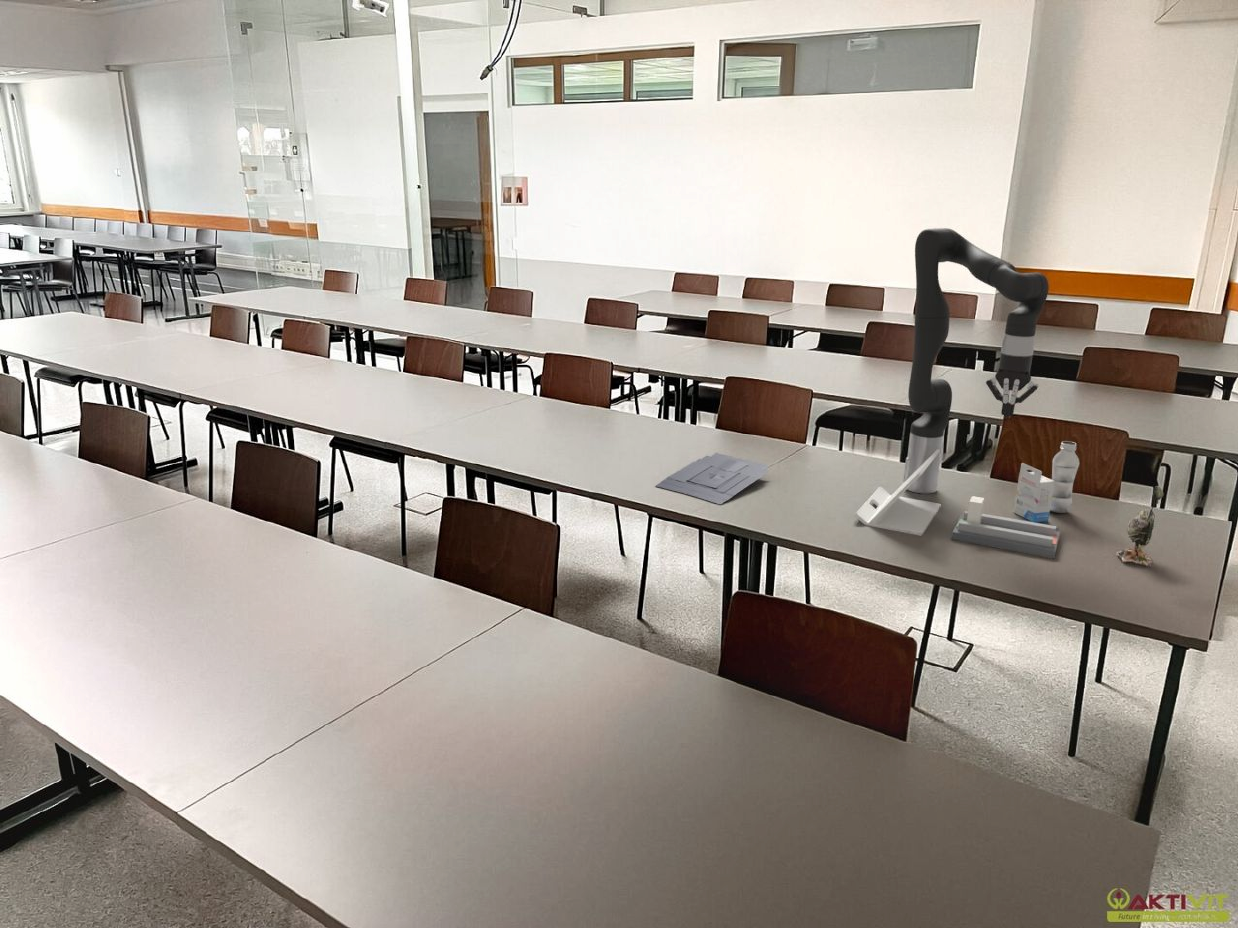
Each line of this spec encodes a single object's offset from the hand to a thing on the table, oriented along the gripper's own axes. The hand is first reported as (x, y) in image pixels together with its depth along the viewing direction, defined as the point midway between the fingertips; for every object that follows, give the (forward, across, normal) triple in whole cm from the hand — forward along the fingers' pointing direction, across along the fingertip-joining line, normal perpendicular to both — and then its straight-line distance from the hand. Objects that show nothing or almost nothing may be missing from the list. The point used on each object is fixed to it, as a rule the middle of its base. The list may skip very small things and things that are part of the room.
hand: (1006, 416), depth 229 cm
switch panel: (+29, +5, -14) cm, 32 cm away
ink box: (+29, +9, +6) cm, 31 cm away
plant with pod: (+29, +34, -11) cm, 46 cm away
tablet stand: (+29, -23, -10) cm, 38 cm away
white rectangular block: (+26, -3, -14) cm, 30 cm away
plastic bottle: (+29, +15, +14) cm, 36 cm away
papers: (+30, -77, -12) cm, 83 cm away
